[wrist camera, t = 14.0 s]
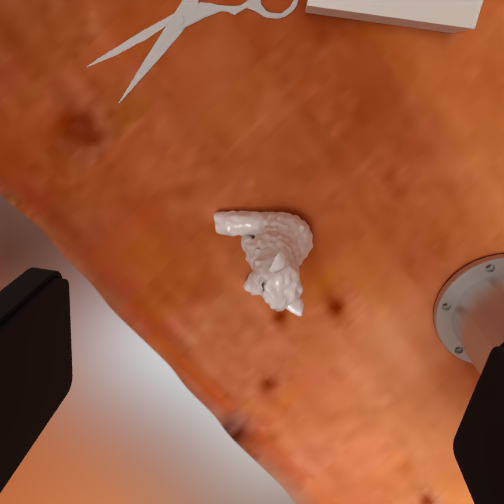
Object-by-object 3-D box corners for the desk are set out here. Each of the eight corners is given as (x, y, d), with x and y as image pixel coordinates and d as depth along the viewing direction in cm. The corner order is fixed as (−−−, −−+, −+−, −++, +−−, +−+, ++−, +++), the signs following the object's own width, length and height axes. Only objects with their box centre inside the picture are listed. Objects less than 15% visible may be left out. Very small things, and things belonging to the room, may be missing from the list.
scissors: (321, -14, 35) (138, 136, 41) (321, -12, 36) (141, 135, 42) (242, -146, 33) (57, 34, 38) (243, -142, 33) (61, 35, 39)
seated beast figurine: (210, 212, 44) (183, 261, 33) (291, 177, 42) (291, 218, 31) (250, 290, 47) (237, 360, 36) (327, 262, 45) (339, 326, 34)
